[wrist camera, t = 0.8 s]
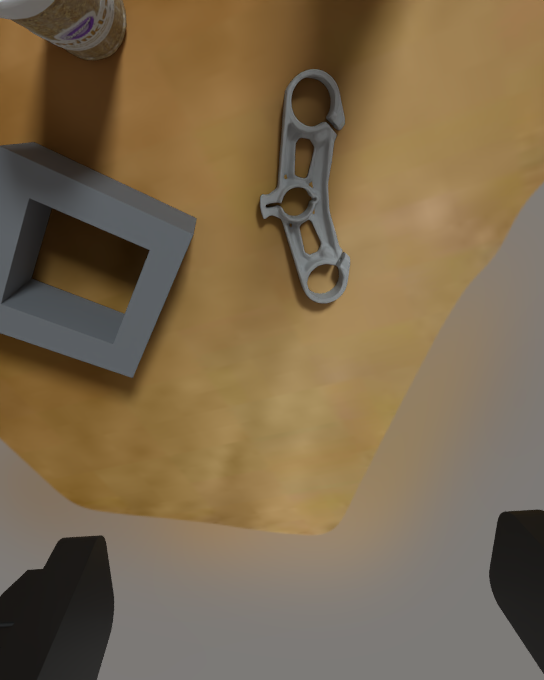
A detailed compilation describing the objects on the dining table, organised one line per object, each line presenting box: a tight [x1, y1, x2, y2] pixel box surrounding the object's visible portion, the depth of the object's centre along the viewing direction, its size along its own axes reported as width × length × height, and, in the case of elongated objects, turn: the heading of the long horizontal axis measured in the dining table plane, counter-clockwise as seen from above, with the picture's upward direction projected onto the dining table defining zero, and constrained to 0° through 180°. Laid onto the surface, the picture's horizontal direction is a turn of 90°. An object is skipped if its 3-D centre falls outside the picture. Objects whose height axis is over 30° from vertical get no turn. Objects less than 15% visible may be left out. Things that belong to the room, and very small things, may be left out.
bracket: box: [260, 69, 350, 303], centre depth 31 cm, size 8×2×15 cm
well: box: [0, 142, 197, 378], centre depth 29 cm, size 11×11×5 cm
